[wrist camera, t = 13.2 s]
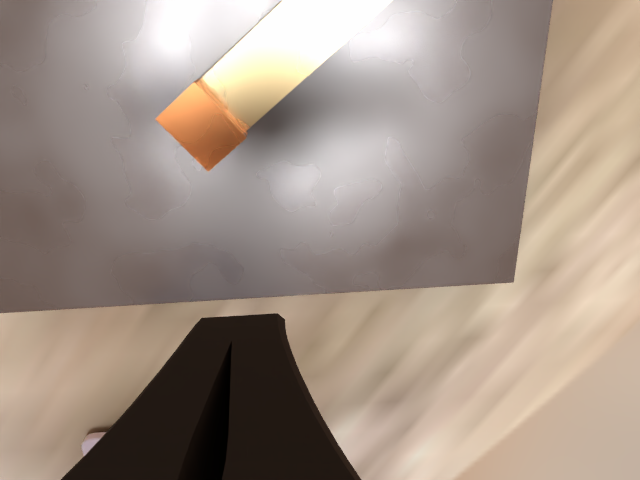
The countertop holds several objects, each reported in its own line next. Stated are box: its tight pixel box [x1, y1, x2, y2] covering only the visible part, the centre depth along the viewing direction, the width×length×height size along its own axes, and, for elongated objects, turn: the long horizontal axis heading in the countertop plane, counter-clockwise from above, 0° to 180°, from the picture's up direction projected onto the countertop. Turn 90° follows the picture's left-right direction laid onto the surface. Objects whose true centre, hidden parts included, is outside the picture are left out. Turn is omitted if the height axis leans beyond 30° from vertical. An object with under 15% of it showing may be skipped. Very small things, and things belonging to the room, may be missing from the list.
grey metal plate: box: [0, 0, 553, 313], centre depth 15 cm, size 14×19×3 cm
